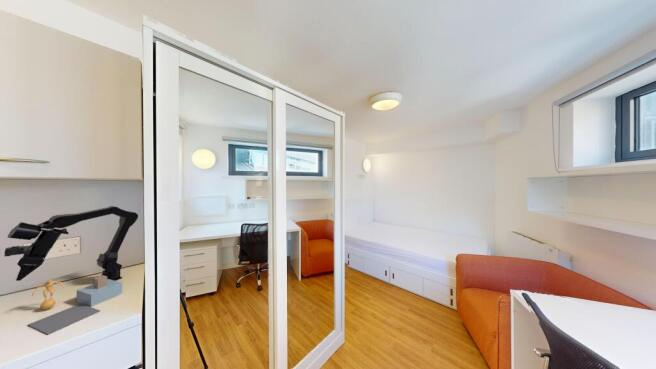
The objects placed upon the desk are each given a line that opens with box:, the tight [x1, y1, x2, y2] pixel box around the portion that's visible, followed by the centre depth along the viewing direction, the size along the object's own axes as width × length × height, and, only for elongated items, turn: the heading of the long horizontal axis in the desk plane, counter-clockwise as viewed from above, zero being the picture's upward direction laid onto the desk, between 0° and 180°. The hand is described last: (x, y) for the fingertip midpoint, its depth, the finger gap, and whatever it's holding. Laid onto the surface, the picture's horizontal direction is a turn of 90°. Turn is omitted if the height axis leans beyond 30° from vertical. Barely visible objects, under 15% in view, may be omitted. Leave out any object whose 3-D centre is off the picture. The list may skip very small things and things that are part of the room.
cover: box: [75, 275, 123, 308], centre depth 96 cm, size 11×11×10 cm
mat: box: [27, 303, 101, 336], centre depth 82 cm, size 14×14×1 cm
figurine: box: [31, 280, 65, 311], centre depth 87 cm, size 8×6×12 cm
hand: (19, 278), depth 86 cm, fingers open, 9 cm apart
